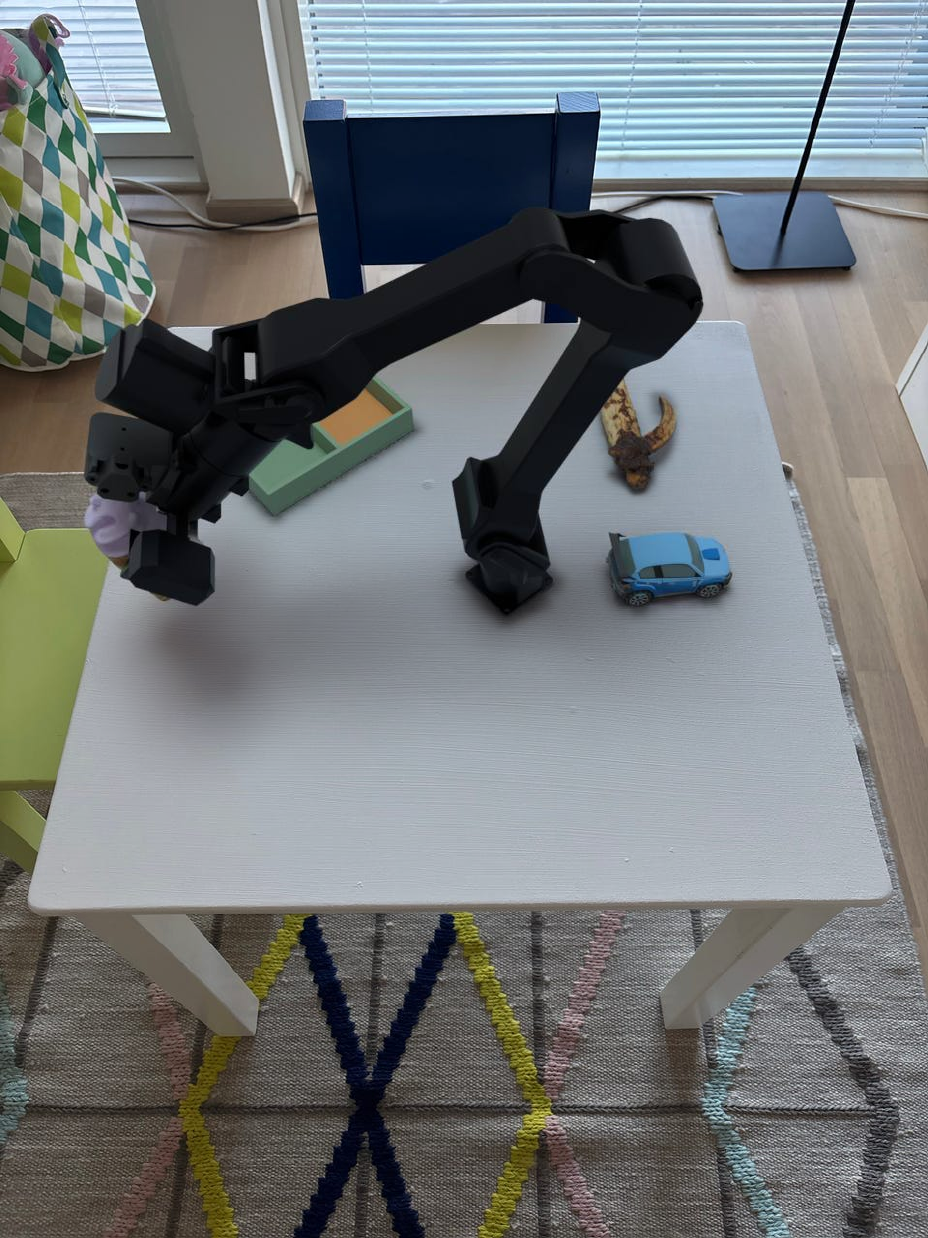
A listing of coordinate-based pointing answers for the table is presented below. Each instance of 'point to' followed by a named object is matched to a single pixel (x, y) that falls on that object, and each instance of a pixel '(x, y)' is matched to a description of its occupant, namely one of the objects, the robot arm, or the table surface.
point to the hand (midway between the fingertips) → (127, 547)
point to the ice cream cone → (121, 526)
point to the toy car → (666, 566)
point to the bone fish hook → (634, 435)
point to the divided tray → (332, 447)
